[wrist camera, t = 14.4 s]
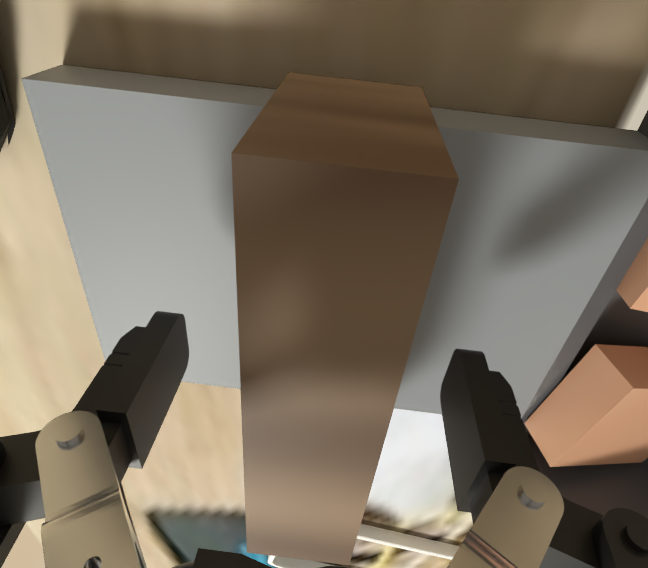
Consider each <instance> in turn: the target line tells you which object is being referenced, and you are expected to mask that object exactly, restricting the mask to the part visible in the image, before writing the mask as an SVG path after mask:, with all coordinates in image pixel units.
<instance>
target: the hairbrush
mask: <svg viewBox="0 0 648 568" xmlns="http://www.w3.org/2000/svg"><path fill="white" fill-rule="evenodd" d="M14 128H15V121H14V117H13V113H12V109H11V105H10V101H9V97H8V94H7V90H6V86H5V82H4V78H3V74H2V70H1V66H0V151H1V148H2V145H3V142H4V139H5V136H6V133H7V130H8V143H10V140H11V137H12V135H13V131H14Z"/></svg>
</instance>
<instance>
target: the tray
mask: <svg viewBox="0 0 648 568" xmlns="http://www.w3.org/2000/svg"><path fill="white" fill-rule="evenodd" d="M638 132H640V133H641V134H643V135H645V136H646V137H648V111H647V113H646V115H645V117H644V119H643V121H642V123H641V125H640V127H639V129H638ZM647 238H648V199H647V200H646V202H645V204H644V206H643V207H642V209H641V211H640V213H639V214H638V216H637V218H636V220H635V221H634V223H633V225H632V226H631V228H630V230H629V232H628V233H627V235H626V237H625V239H624V240H623V242H622V244H621V246H620V247H619V249H618V251H617V253H616V254H615V256H614V258H613V260H612V261H611V263H610V265H609V267H608V268H607V270H606V272H605V274H604V275H603V277H602V279H601V281H600V282H599V284H598V286H597V288H596V289H595V291H594V293H593V295H592V296H591V298H590V300H589V302H588V303H587V305H586V307H585V309H584V310H583V312H582V314H581V315H580V317H579V319H578V321H577V322H576V324H575V326H574V328H573V329H572V331H571V333H570V335H569V336H568V338H567V340H566V342H565V343H564V345H563V347H562V349H561V350H560V352H559V354H558V356H557V357H556V359H555V361H554V363H553V364H552V366H551V368H550V370H549V371H548V373H547V375H546V377H545V378H544V380H543V382H542V384H541V385H540V387H539V389H538V391H537V392H536V394H535V396H534V398H533V399H532V401H531V403H530V404H529V406H528V408H527V410H526V411H525V413H524V415H523V417H522V418H521V419H522V420H523V423H525V422H526V421H527V420H528V419H529V417H530V416H531V415H532V414H533V413H534V412H535V411H536V410H537V409H538V407H539V406H540V405H541V404H542V403H543V402H544V401H545V400H546V399H547V397H548V396H549V395H550V394H551V393H552V392H553V391H554V390H555V389H556V387H557V386H558V385H559V384H560V383H561V382H562V381H563V380H564V378H565V377H566V376H567V375H568V374H569V373H570V372H571V371H572V370H573V368H574V367H575V366H576V365H577V364H578V363H579V362H580V361H581V360H582V358H583V357H584V356H585V355H586V354H587V353H588V352H589V351H590V350H591V348H592V347H593V346H594V345H595V344H601V345H619V346H636V347H648V312H644V311H640V310H635V309H631V308H629V306H628V305H627V304H626V302H625V301H624V300H623V298H622V297H621V296H620V294H619V293H618V291H617V290H616V289H617V287H618V286H619V284H620V283H621V281H622V279H623V278H624V276H625V274H626V273H627V271H628V269H629V268H630V266H631V264H632V263H633V261H634V260H635V258H636V256H637V255H638V253H639V251H640V250H641V248H642V246H643V245H644V243H645V241H646V240H647ZM524 426H525V429H526V432H527V435H528V438H529V441H530V444H531V447H532V450H533V453H534V456H535V459H536V462H537V465H538V468H539V470H540V472H541V473H542V474H544V475H545V476H546V477H547V478H549V479H550V480H551V481H552V482H553V483H554V485H555V486H556V487H557V489H558V490H559V492H560V494H561V496H563V497H564V498H566V499H568V500H570V501H572V502H574V503H576V504H578V505H581V506H583V507H585V508H588V509H590V510H592V511H595V512H597V513H599V514H602V515H605V514H606V513H607V512H608V511H609V510H611V509H614V508H626V509H630V510H632V511H635V512H637V513H639V514H641V515H643V516H644V517H646V518H647V519H648V458H647V459H646V460H644V461H643V462H640V463H620V464H600V465H580V466H560V467H550V466H549V464H548V462H547V461H546V459H545V457H544V456H543V454H542V452H541V451H540V449H539V447H538V446H537V444H536V442H535V441H534V439H533V437H532V436H531V434H530V432H529V431H528V429H527V427H526V425H525V424H524Z"/></svg>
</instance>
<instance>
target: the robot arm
mask: <svg viewBox="0 0 648 568" xmlns="http://www.w3.org/2000/svg"><path fill="white" fill-rule="evenodd" d="M188 360H189V345H188V338H187V330H186V322H185V317H184V315H183V314H179V313H171V312H163V311H156V312H155V313H154V314H153V316H152V318H151V319H150V321H149V323H148V324H147V326H146V327H140V326H135V327H134V328H133V329H132V330H130V331H129V332H128V333H126V334H125V335H124V336H122V337H121V338H120V340H119V341H118V343H117V344H116V346H115V347H114V349H113V350H112V354H110V355H109V356H108V358H107V359H106V361H105V363H104V366H102V367H101V369H100V370H99V372H98V373H97V375H96V376H95V378H94V379H93V381H92V382H91V384H90V385H89V387H88V388H87V390H86V391H85V393H84V394H83V396H82V398H81V399H80V401H79V402H78V404H77V405H76V407H75V408H74V409H73V411H72V412H69V413H65V414H63V415H60V416H58V417H57V418H55V419H53V420H52V421H50V422H49V423H48V424H47V425H46V426H45V427H44V428H43V429H42V430H40V431H36V432H30V433H24V434H18V435H11V436H5V437H0V568H1V567H2V565H3V563H4V561H5V559H6V557H7V556H8V554H9V552H10V550H11V548H12V547H13V545H14V543H15V541H16V539H17V538H18V536H19V534H20V532H21V530H22V528H23V526H24V525H25V523H26V521H31V520H36V519H41V518H45V523H43V524H42V526H41V537H42V545H43V553H44V560H45V568H147V567H146V564H145V561H144V557H143V554H142V551H141V548H140V545H139V541H138V538H137V534H136V531H135V527H134V524H133V520H132V517H131V513H130V510H129V506H128V503H127V499H126V496H125V492H124V489H123V485H122V482H121V481H122V479H123V477H124V475H125V473H126V471H127V469H128V467H131V468H139V469H142V468H143V465H144V463H145V461H146V459H147V457H148V454H149V452H150V450H151V448H152V445H153V443H154V441H155V439H156V436H157V434H158V432H159V430H160V427H161V425H162V423H163V421H164V418H165V416H166V414H167V412H168V410H169V407H170V405H171V403H172V401H173V398H174V396H175V394H176V392H177V389H178V387H179V385H180V383H181V380H182V378H183V376H184V374H185V371H186V369H187V365H188ZM440 403H441V410H442V416H443V422H444V429H445V435H446V441H447V447H448V454H449V460H450V466H451V472H452V479H453V485H454V491H455V498H456V504H457V510H458V511H464V512H471V514H472V520H473V526H472V528H471V529H470V531H469V533H468V534H467V536H466V537H465V539H464V541H463V542H462V544H461V546H460V547H459V549H458V550H457V552H456V554H455V555H454V557H453V559H452V560H451V562H450V563H449V565H448V567H447V568H648V519H647V518H646V517H644V516H643V515H641V514H639V513H637V512H635V511H632V510H630V509H626V508H614V509H611V510H609V511H608V512H607V513H606V514H605V515H602V514H599V513H597V512H595V511H592V510H590V509H588V508H585V507H583V506H581V505H578V504H576V503H574V502H572V501H570V500H568V499H566V498H564V497H563V496H561V494H560V492H559V490H558V489H557V487H556V486H555V485H554V483H553V482H552V481H551V480H550V479H549V478H547V477H546V476H545V475H544V474H542V473H541V472H540V470H539V468H538V465H537V462H536V459H535V456H534V453H533V450H532V447H531V444H530V441H529V438H528V435H527V432H526V429H525V426H524V423H523V420H522V419H521V414H520V411H519V408H518V406H517V402H516V399H515V396H514V393H513V390H512V387H511V385H510V384H509V383H508V382H507V380H506V379H505V378H504V377H503V375H502V374H501V373H500V372H497V371H489V368H488V364H487V361H486V358H485V355H484V353H483V352H482V351H474V350H466V349H455V350H454V352H453V355H452V357H451V360H450V363H449V366H448V368H447V371H446V374H445V376H444V379H443V382H442V385H441V392H440ZM173 568H272V567H269V566H267V565H265V564H263V563H260V562H258V561H256V560H254V559H252V558H249V557H247V556H245V555H243V554H238V553H231V552H223V551H215V550H208V549H200V548H198V551H197V554H196V558H195V561H193V562H187V563H184V564H181V565H178V566H175V567H173ZM319 568H346V567H338V566H325V567H319Z"/></svg>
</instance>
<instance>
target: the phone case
mask: <svg viewBox="0 0 648 568" xmlns="http://www.w3.org/2000/svg"><path fill="white" fill-rule="evenodd" d="M357 539H362V540H366V541H370V542H375V543H379V544H384V545H388V546H393V547H397V548H402V549H406V550H411V551H415V552H419V553H424V554H428V555H433V556H437V557H442V558H446V559H451V560H452V559H453V557H454V555H455V554H456V552H457V550H458V549H459V547H460V546H456V545H452V544H447V543H443V542H439V541H434V540H430V539H426V538H421V537H417V536H412V535H408V534H404V533H399V532H395V531H391V530H386V529H382V528H378V527H373V526H369V525H364V524H361V525H360V528H359V532H358V535H357ZM268 563H269V564H271V565H273V566H276V567H279V568H319V567H325V566H335V565H330V564H326V563H321V562H316V561H311V560H303V559H295V558H288V557H280V556H272V555H269V557H268ZM338 567H339V566H338Z"/></svg>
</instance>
